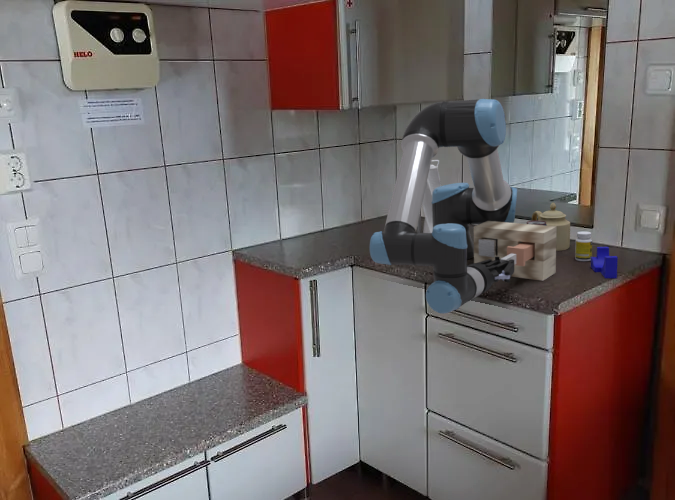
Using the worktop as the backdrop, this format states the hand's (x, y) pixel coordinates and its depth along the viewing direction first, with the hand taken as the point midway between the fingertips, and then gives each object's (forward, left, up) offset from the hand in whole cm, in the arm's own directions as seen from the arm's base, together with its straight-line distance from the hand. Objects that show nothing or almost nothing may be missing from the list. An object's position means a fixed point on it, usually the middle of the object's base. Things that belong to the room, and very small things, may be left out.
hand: (513, 258), depth 168 cm
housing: (-6, +13, -8) cm, 16 cm away
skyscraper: (-53, +45, -8) cm, 70 cm away
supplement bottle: (+7, +34, -8) cm, 36 cm away
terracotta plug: (0, +8, -2) cm, 8 cm away
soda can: (-5, +27, -8) cm, 29 cm away
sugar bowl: (-9, +45, -8) cm, 47 cm away
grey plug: (-11, +13, -2) cm, 17 cm away
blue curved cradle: (+16, +24, -8) cm, 30 cm away
